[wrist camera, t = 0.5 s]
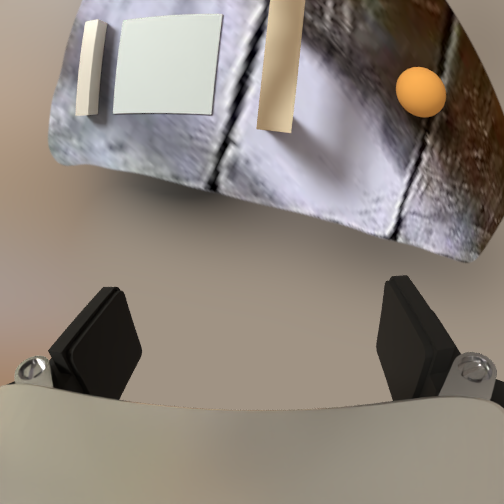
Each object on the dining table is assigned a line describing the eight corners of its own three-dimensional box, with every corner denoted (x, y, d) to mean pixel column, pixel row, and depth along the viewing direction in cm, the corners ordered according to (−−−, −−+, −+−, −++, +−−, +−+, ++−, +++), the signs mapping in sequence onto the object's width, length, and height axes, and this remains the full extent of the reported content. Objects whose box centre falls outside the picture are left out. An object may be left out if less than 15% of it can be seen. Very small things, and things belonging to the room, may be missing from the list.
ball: (391, 64, 31) (409, 57, 25) (433, 78, 31) (457, 73, 25) (386, 110, 33) (404, 109, 28) (429, 122, 33) (452, 124, 27)
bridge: (261, 126, 35) (256, 129, 27) (274, 10, 29) (272, -22, 21) (287, 129, 35) (291, 133, 26) (300, 13, 29) (306, -18, 20)
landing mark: (123, 20, 30) (123, 20, 30) (222, 14, 30) (222, 14, 30) (113, 113, 36) (113, 113, 35) (211, 114, 35) (211, 114, 35)
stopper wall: (95, 25, 31) (85, 21, 28) (107, 23, 30) (98, 19, 28) (85, 115, 36) (75, 115, 33) (97, 114, 36) (87, 114, 33)
